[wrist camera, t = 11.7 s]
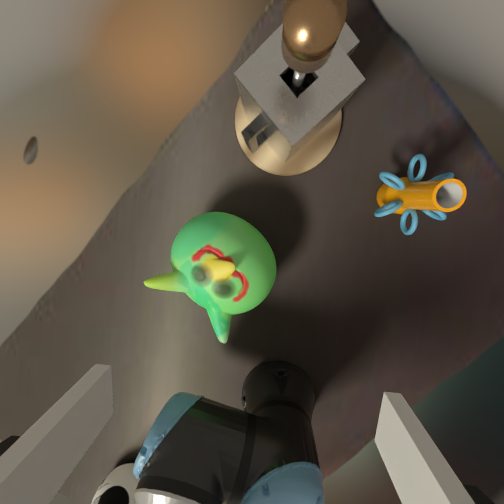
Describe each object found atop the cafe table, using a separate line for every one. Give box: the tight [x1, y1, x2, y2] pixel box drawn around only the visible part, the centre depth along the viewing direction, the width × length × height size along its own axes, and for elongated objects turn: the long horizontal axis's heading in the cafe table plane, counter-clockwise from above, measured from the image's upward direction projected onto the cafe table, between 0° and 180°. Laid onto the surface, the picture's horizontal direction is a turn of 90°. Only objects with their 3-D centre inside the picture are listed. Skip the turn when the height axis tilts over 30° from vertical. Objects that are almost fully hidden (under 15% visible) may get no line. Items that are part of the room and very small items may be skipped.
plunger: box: [281, 0, 347, 98], centre depth 28 cm, size 7×7×20 cm
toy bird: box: [144, 212, 276, 343], centre depth 44 cm, size 18×17×15 cm
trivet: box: [235, 97, 342, 176], centre depth 45 cm, size 18×18×1 cm
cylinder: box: [374, 154, 466, 235], centre depth 40 cm, size 12×10×15 cm
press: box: [234, 22, 365, 163], centre depth 37 cm, size 10×16×17 cm, turn 131°
